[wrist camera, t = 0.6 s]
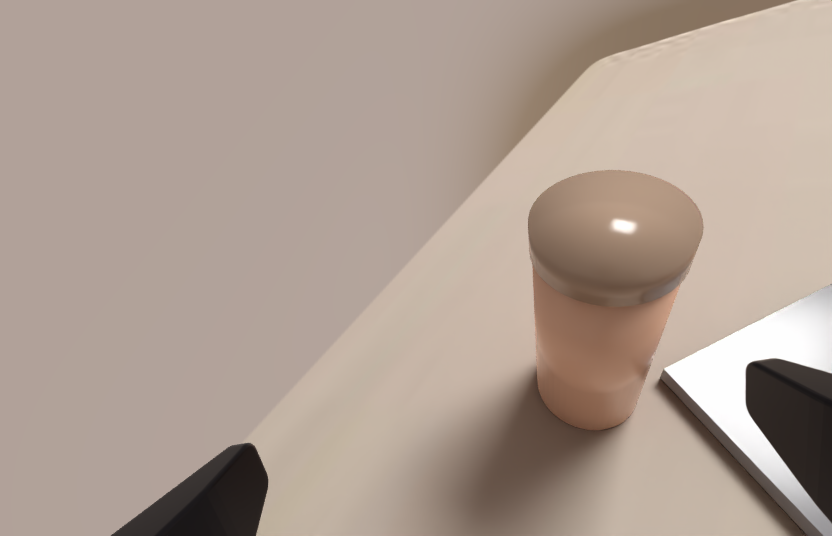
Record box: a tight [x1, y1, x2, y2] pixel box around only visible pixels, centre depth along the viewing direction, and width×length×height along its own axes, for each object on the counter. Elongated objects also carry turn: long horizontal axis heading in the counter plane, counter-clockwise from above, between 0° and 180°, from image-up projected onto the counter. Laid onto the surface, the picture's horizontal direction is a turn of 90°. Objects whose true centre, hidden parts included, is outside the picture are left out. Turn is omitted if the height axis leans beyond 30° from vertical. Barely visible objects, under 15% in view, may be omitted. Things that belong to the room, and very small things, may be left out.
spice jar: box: [528, 170, 703, 430], centre depth 19 cm, size 5×5×12 cm
